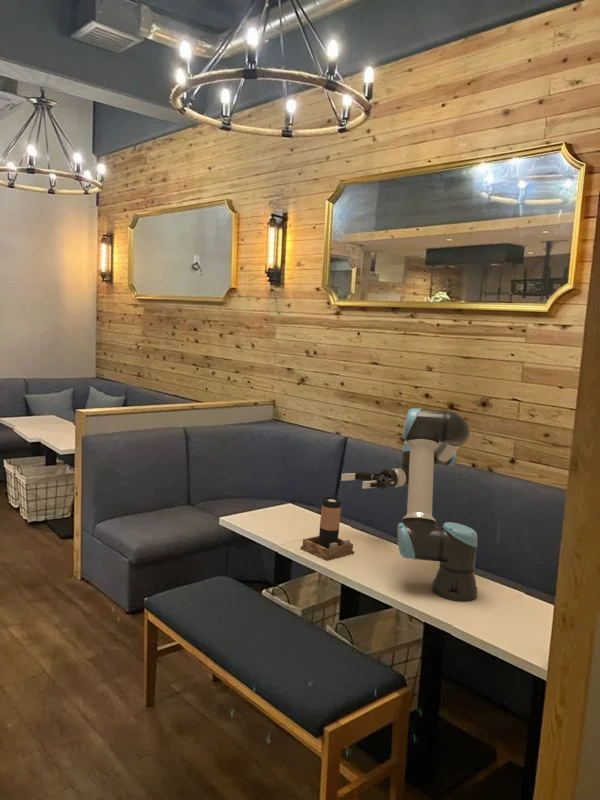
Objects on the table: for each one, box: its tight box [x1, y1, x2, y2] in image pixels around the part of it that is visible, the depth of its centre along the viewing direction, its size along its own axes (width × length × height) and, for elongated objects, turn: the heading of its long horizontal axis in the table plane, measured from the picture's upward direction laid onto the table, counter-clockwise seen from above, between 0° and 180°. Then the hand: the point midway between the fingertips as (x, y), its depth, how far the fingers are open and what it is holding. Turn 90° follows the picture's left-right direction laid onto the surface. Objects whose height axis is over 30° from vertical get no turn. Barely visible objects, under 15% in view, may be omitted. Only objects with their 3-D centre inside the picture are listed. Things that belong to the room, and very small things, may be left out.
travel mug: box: [318, 496, 342, 549], centre depth 247 cm, size 8×8×20 cm
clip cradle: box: [300, 535, 355, 562], centre depth 247 cm, size 15×15×6 cm
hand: (352, 481), depth 250 cm, fingers open, 13 cm apart
